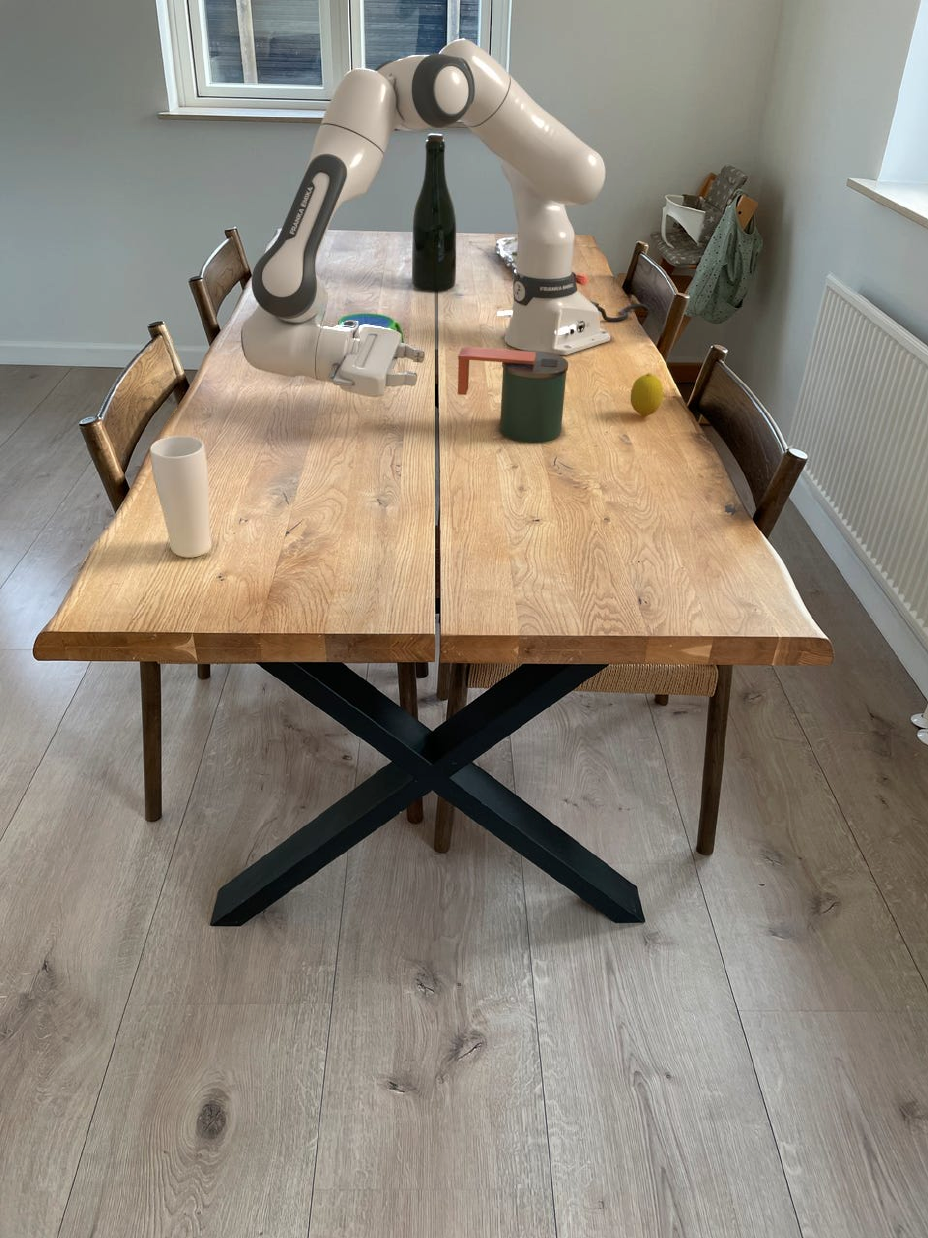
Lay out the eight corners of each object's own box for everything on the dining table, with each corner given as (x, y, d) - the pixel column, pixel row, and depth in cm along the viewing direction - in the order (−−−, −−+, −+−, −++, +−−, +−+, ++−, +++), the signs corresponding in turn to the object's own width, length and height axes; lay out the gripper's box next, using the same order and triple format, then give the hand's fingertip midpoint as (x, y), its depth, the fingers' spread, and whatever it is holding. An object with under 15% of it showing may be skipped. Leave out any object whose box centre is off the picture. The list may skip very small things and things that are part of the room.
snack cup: (389, 359, 196) (389, 307, 190) (417, 376, 188) (417, 322, 183) (318, 373, 188) (315, 319, 183) (344, 391, 181) (342, 336, 175)
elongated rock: (524, 252, 271) (488, 254, 269) (524, 231, 268) (488, 234, 267) (554, 281, 241) (514, 284, 240) (555, 258, 238) (514, 261, 237)
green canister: (495, 440, 165) (498, 370, 158) (501, 415, 174) (505, 347, 167) (560, 446, 164) (566, 375, 157) (563, 420, 173) (569, 352, 166)
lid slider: (457, 395, 165) (458, 355, 161) (460, 386, 169) (461, 346, 165) (531, 401, 164) (533, 360, 160) (533, 391, 168) (535, 351, 164)
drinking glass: (170, 537, 136) (153, 435, 127) (220, 536, 136) (207, 434, 128) (162, 562, 130) (144, 458, 122) (214, 561, 131) (200, 457, 122)
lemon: (662, 413, 177) (668, 370, 172) (656, 425, 172) (663, 381, 168) (631, 408, 178) (637, 365, 174) (625, 420, 174) (630, 376, 169)
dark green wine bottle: (464, 285, 239) (468, 133, 220) (439, 295, 231) (442, 139, 213) (427, 277, 243) (429, 128, 225) (403, 287, 236) (402, 134, 217)
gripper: (325, 362, 156) (412, 375, 156) (350, 315, 172) (429, 327, 172) (324, 399, 160) (409, 412, 160) (349, 350, 176) (426, 361, 176)
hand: (420, 367), depth 166 cm, fingers open, 8 cm apart
